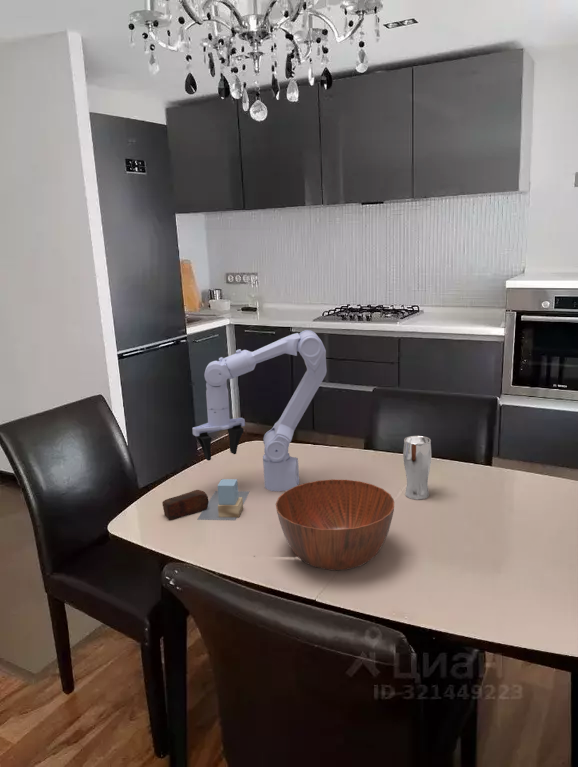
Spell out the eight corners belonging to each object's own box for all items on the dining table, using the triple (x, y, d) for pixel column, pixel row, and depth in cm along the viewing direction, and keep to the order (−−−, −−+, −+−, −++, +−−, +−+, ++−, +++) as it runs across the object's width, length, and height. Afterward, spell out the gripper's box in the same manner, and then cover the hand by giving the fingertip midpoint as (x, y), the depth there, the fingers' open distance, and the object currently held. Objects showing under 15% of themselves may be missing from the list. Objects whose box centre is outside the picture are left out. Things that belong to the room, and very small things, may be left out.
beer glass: (401, 498, 154) (400, 443, 150) (406, 488, 160) (406, 434, 156) (428, 501, 151) (428, 445, 147) (433, 491, 157) (433, 436, 154)
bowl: (364, 596, 113) (363, 541, 110) (255, 564, 126) (252, 514, 123) (412, 539, 133) (412, 491, 130) (314, 516, 146) (312, 472, 144)
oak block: (243, 508, 151) (242, 497, 150) (238, 517, 146) (237, 506, 145) (223, 508, 151) (222, 497, 151) (218, 517, 146) (217, 505, 146)
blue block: (223, 497, 150) (221, 479, 149) (238, 498, 150) (237, 479, 148) (219, 504, 146) (217, 485, 145) (235, 505, 146) (233, 485, 145)
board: (249, 494, 161) (249, 491, 161) (235, 523, 145) (235, 520, 144) (215, 493, 162) (215, 490, 162) (197, 522, 146) (197, 519, 146)
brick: (170, 523, 146) (167, 505, 145) (164, 518, 149) (161, 500, 148) (210, 508, 151) (207, 491, 150) (203, 504, 154) (200, 487, 153)
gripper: (199, 415, 150) (202, 466, 153) (249, 405, 158) (251, 454, 161) (187, 409, 156) (191, 458, 159) (236, 400, 164) (238, 447, 167)
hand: (220, 456), depth 160 cm, fingers open, 7 cm apart
